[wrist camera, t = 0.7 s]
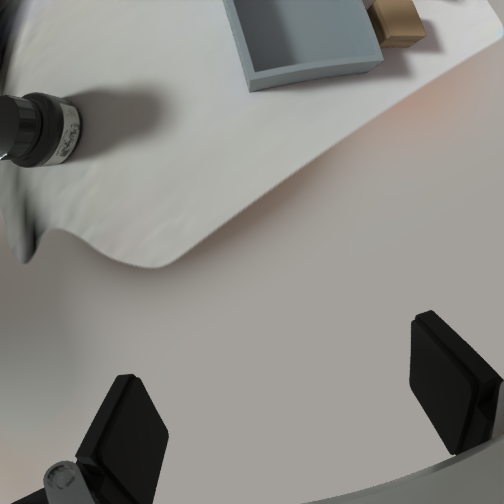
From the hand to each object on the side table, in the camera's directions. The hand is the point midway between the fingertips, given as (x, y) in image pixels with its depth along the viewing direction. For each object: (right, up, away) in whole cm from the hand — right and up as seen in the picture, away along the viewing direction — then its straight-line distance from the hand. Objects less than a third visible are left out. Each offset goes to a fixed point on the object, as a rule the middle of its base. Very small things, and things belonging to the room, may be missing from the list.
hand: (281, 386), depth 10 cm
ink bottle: (-26, +20, +24) cm, 41 cm away
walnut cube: (+16, +32, +21) cm, 42 cm away
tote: (+4, +32, +21) cm, 39 cm away
